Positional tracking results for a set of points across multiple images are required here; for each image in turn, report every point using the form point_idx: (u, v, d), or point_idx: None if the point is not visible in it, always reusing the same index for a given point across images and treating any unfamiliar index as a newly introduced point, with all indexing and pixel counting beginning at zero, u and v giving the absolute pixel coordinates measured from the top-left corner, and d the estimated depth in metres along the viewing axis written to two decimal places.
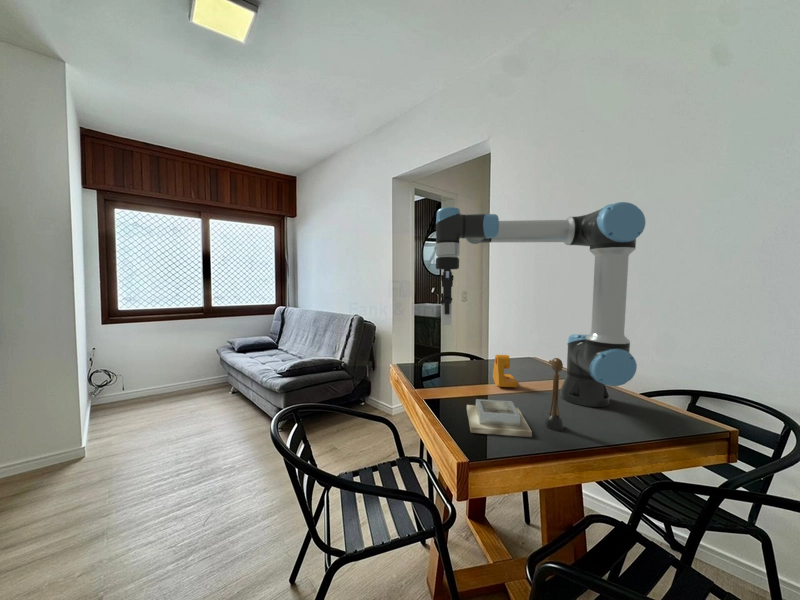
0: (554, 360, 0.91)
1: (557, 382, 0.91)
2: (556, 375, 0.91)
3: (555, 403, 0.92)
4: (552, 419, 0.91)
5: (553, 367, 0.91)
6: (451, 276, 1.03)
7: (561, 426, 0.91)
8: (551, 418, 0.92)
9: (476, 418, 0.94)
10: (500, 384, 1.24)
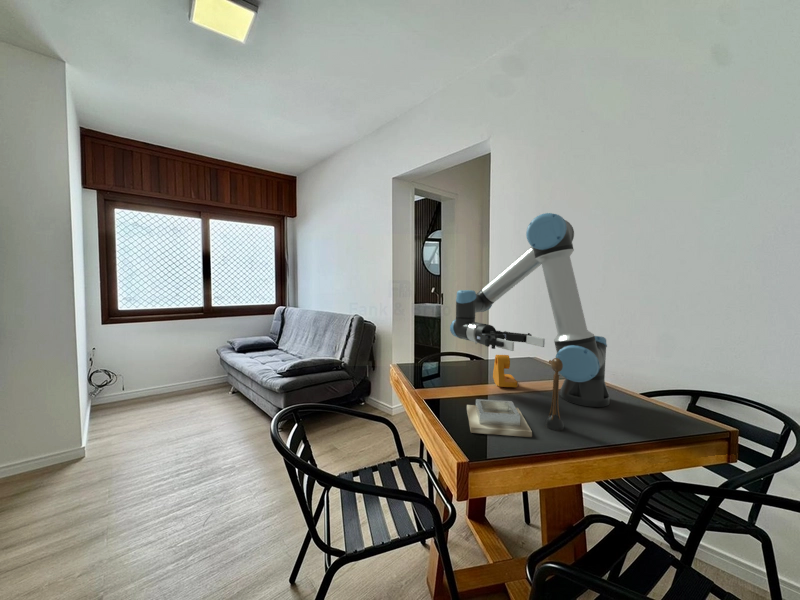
0: (554, 360, 0.91)
1: (557, 382, 0.91)
2: (556, 375, 0.91)
3: (555, 403, 0.92)
4: (552, 419, 0.91)
5: (553, 367, 0.91)
6: (490, 333, 1.12)
7: (561, 426, 0.91)
8: (551, 418, 0.92)
9: (476, 418, 0.94)
10: (500, 384, 1.24)
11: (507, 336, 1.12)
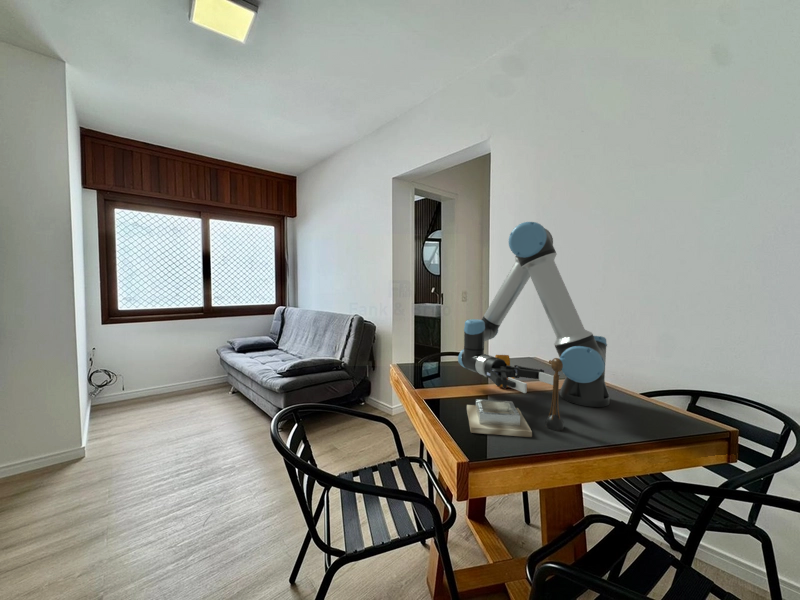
0: (554, 360, 0.91)
1: (557, 382, 0.91)
2: (556, 375, 0.91)
3: (555, 403, 0.92)
4: (552, 419, 0.91)
5: (553, 367, 0.91)
6: (500, 368, 1.08)
7: (561, 426, 0.91)
8: (551, 418, 0.92)
9: (476, 418, 0.94)
10: None
11: (518, 372, 1.07)
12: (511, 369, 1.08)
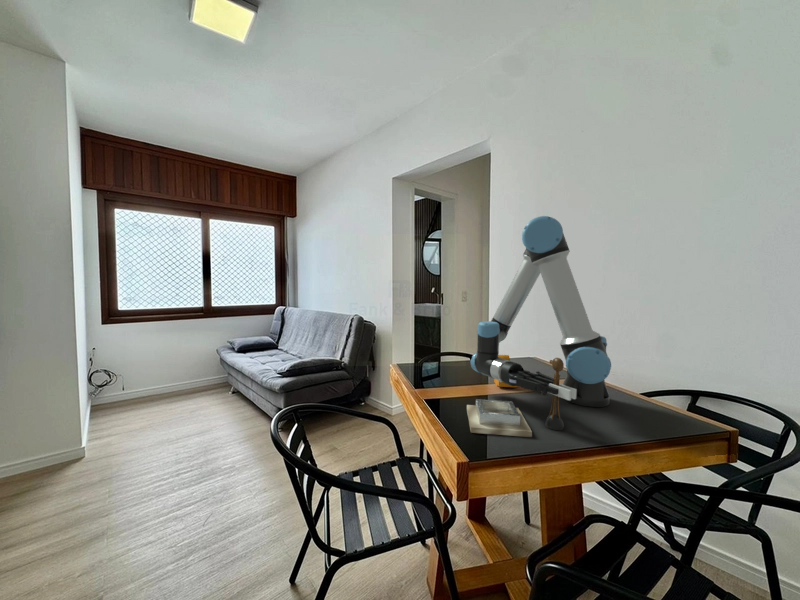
0: (555, 360, 0.91)
1: (558, 382, 0.91)
2: (557, 375, 0.91)
3: (555, 403, 0.92)
4: (552, 419, 0.91)
5: (554, 367, 0.91)
6: (519, 374, 1.01)
7: (561, 426, 0.91)
8: (551, 418, 0.92)
9: (476, 418, 0.94)
10: (500, 384, 1.24)
11: (533, 379, 1.00)
12: (529, 374, 1.02)
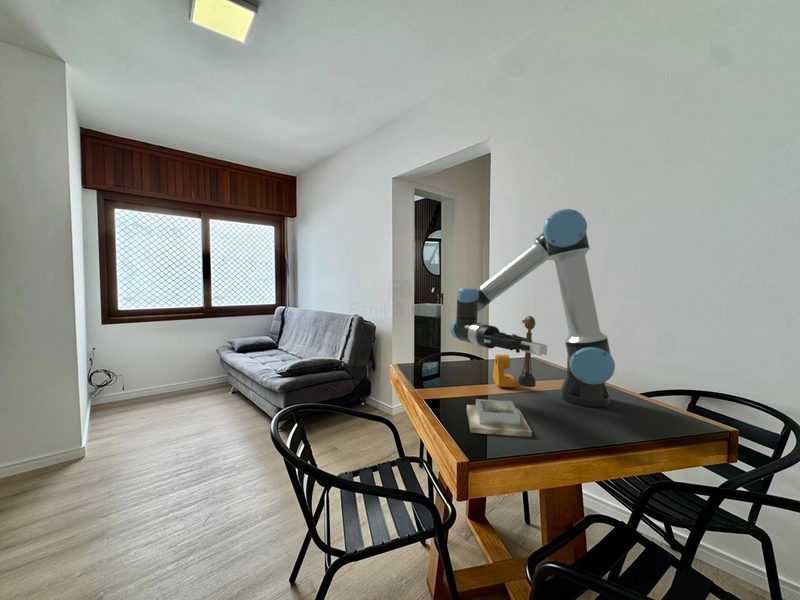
0: (527, 318, 0.92)
1: (530, 340, 0.92)
2: (529, 333, 0.92)
3: (527, 361, 0.93)
4: (524, 376, 0.92)
5: (526, 325, 0.92)
6: (494, 335, 1.02)
7: (533, 383, 0.92)
8: (523, 375, 0.93)
9: (476, 418, 0.94)
10: (500, 384, 1.24)
11: (508, 339, 1.01)
12: (505, 336, 1.03)
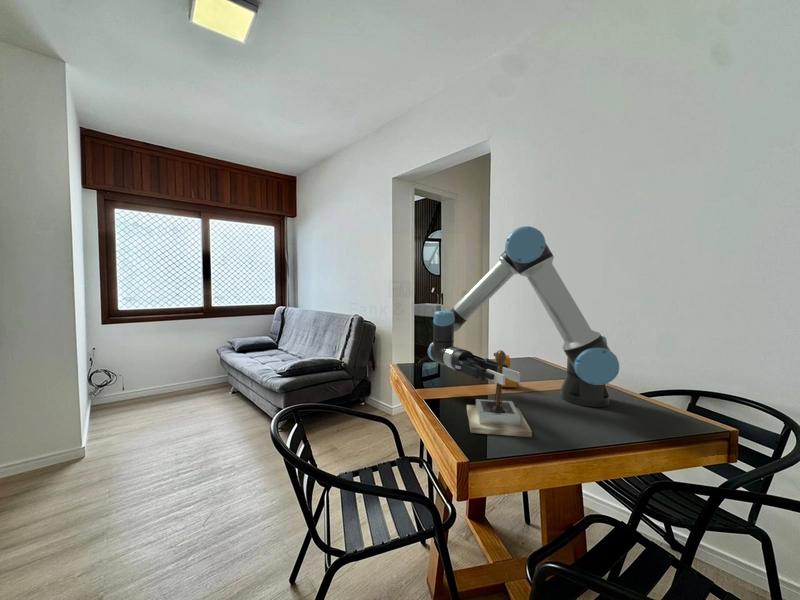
0: (498, 352, 0.93)
1: None
2: (500, 367, 0.93)
3: (498, 394, 0.94)
4: (495, 410, 0.93)
5: (497, 359, 0.93)
6: (467, 360, 1.03)
7: None
8: (494, 409, 0.94)
9: (476, 418, 0.94)
10: None
11: (483, 365, 1.02)
12: (478, 361, 1.04)
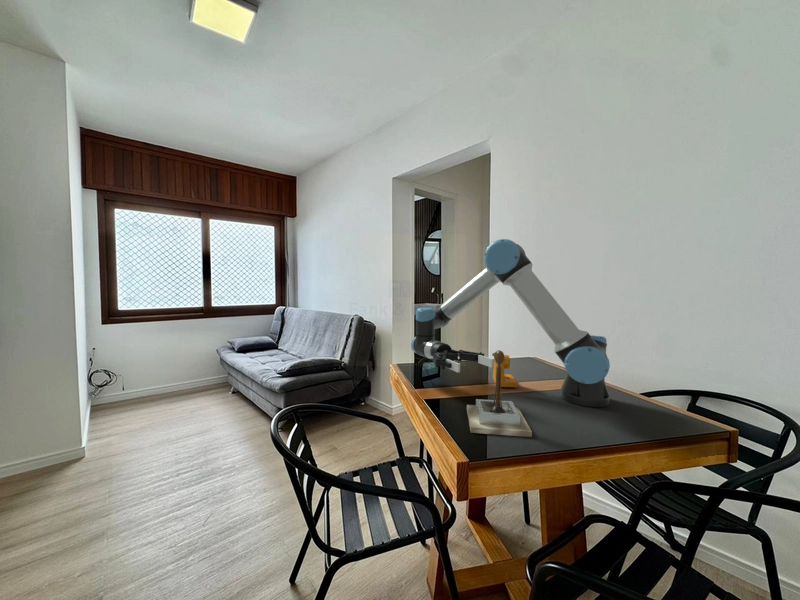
0: (496, 352, 0.93)
1: (499, 374, 0.94)
2: (498, 367, 0.93)
3: (498, 394, 0.94)
4: (495, 410, 0.93)
5: (496, 359, 0.93)
6: (443, 352, 1.15)
7: None
8: (494, 409, 0.94)
9: (476, 418, 0.94)
10: None
11: (460, 355, 1.14)
12: (454, 353, 1.15)
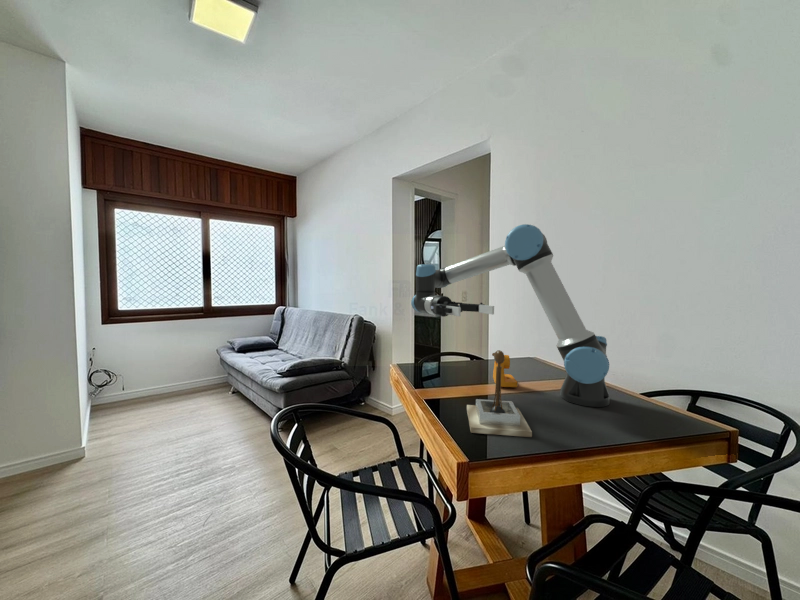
0: (496, 352, 0.93)
1: (499, 374, 0.94)
2: (498, 367, 0.93)
3: (498, 394, 0.94)
4: (495, 410, 0.93)
5: (496, 359, 0.93)
6: (444, 303, 1.14)
7: None
8: (494, 409, 0.94)
9: (476, 418, 0.94)
10: None
11: (461, 306, 1.14)
12: (454, 304, 1.14)
